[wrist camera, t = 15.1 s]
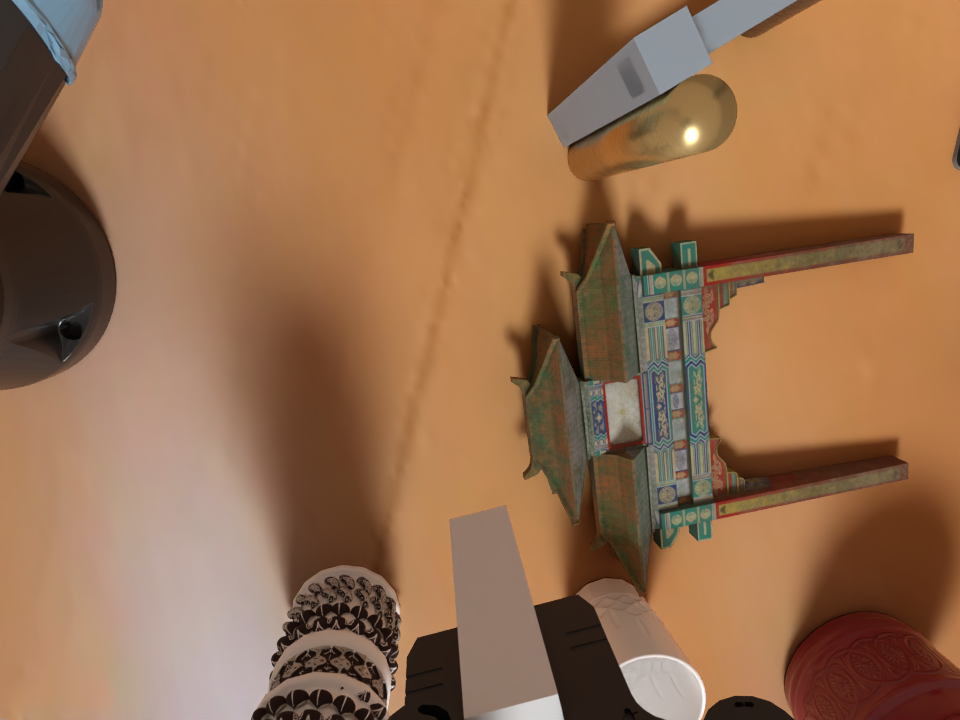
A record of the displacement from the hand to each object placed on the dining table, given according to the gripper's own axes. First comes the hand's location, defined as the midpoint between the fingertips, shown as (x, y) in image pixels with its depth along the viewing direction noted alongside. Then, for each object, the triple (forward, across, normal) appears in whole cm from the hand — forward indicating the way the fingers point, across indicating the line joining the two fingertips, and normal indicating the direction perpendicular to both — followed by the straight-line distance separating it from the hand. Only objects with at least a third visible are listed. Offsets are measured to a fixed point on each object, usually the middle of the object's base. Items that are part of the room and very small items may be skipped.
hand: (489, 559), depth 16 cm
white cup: (+30, +7, -25) cm, 39 cm away
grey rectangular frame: (+29, +16, +14) cm, 36 cm away
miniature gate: (+30, +18, -8) cm, 36 cm away
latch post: (+29, +12, +10) cm, 34 cm away
